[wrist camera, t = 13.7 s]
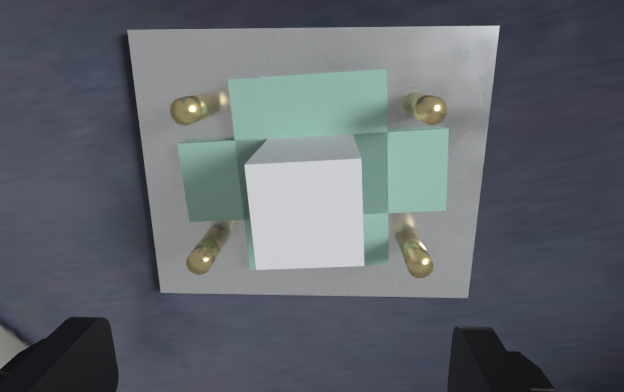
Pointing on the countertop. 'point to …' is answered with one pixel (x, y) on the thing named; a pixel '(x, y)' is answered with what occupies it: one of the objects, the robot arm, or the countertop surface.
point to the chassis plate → (298, 61)
